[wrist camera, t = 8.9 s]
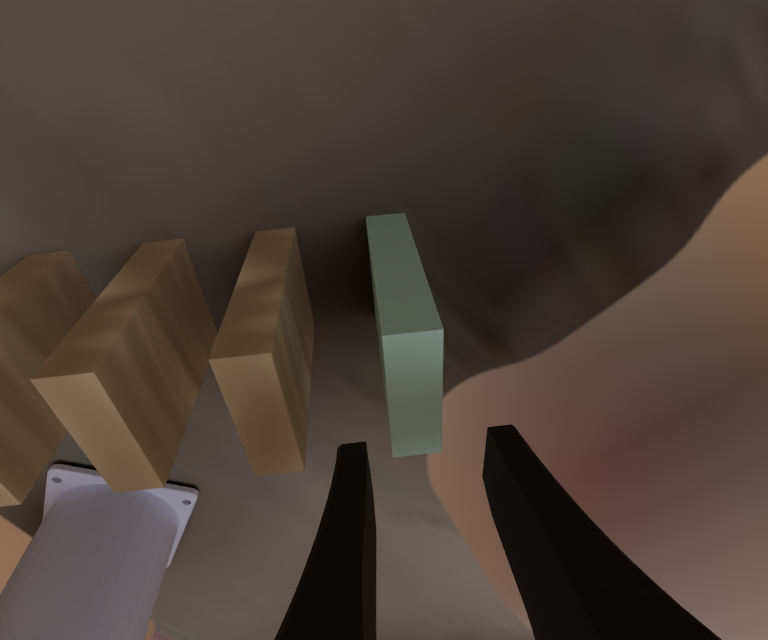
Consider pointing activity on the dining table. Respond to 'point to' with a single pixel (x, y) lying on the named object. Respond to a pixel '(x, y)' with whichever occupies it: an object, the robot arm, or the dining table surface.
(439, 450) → the teal domino
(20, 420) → the domino
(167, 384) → the domino
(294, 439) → the domino
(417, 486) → the dining table surface
